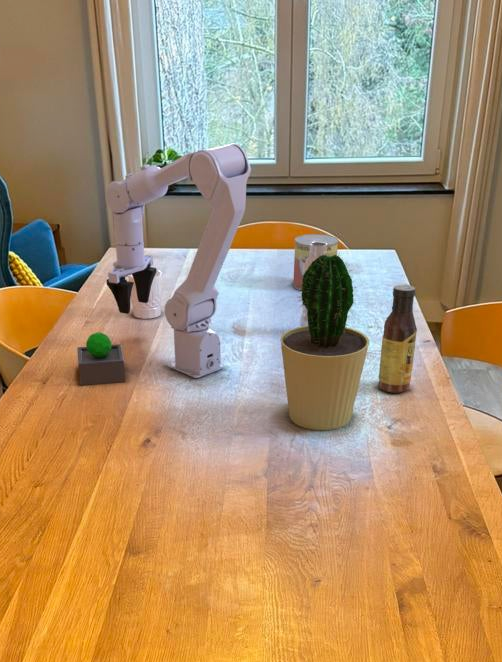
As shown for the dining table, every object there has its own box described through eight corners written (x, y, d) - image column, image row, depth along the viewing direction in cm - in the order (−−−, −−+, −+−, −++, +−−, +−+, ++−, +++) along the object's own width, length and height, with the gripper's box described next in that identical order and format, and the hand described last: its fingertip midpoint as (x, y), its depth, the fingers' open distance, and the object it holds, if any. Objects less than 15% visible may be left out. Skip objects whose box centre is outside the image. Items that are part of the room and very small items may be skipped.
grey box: (122, 364, 168) (120, 344, 165) (125, 381, 160) (123, 360, 158) (79, 368, 166) (77, 347, 164) (80, 385, 159) (78, 363, 156)
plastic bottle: (327, 328, 185) (333, 240, 174) (327, 338, 179) (333, 248, 169) (299, 327, 186) (303, 239, 175) (299, 337, 180) (303, 247, 169)
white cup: (148, 322, 189) (146, 280, 184) (124, 315, 193) (121, 274, 188) (170, 313, 195) (168, 272, 189) (146, 307, 199) (143, 266, 193)
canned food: (288, 290, 209) (290, 243, 202) (297, 277, 218) (299, 232, 211) (331, 293, 206) (334, 246, 200) (338, 281, 215) (341, 235, 209)
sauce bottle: (409, 395, 154) (422, 294, 143) (376, 393, 155) (387, 292, 144) (409, 382, 159) (422, 283, 148) (378, 379, 160) (388, 281, 149)
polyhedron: (82, 358, 160) (80, 335, 158) (97, 350, 164) (94, 328, 161) (103, 362, 158) (100, 339, 156) (117, 354, 162) (115, 331, 159)
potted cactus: (367, 403, 151) (382, 241, 135) (356, 440, 138) (371, 267, 122) (287, 394, 154) (293, 236, 138) (269, 429, 142) (274, 260, 126)
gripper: (131, 232, 169) (135, 295, 177) (93, 248, 159) (99, 315, 166) (160, 235, 167) (163, 299, 174) (123, 252, 156) (128, 320, 163)
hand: (134, 307), depth 170 cm, fingers open, 7 cm apart
